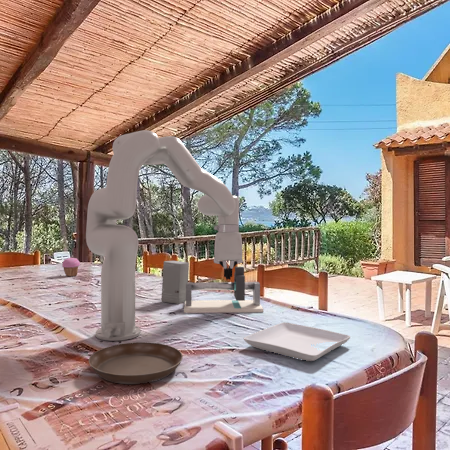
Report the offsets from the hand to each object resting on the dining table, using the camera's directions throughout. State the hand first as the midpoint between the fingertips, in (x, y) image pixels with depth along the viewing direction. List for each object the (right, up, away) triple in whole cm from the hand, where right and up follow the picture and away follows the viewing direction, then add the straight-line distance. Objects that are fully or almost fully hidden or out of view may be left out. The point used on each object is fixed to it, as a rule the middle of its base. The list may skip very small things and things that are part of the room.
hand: (228, 278), depth 150 cm
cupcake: (-84, -8, +69) cm, 109 cm away
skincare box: (-21, -10, +10) cm, 25 cm away
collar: (+4, -7, 0) cm, 8 cm away
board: (-2, -11, 0) cm, 11 cm away
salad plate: (+18, -13, -43) cm, 48 cm away
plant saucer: (-21, -13, -58) cm, 63 cm away
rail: (-2, -10, 0) cm, 10 cm away
